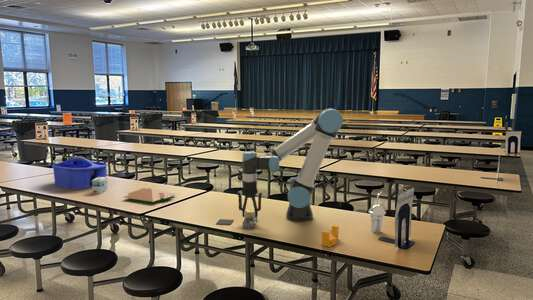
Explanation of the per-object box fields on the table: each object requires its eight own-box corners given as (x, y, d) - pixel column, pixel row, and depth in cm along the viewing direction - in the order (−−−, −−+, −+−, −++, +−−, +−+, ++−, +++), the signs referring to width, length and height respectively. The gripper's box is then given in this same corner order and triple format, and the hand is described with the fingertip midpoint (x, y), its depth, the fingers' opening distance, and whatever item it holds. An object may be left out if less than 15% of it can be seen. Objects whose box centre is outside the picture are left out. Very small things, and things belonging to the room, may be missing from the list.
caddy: (81, 179, 320) (79, 152, 317) (117, 184, 298) (115, 155, 295) (44, 186, 292) (42, 156, 289) (80, 193, 271) (78, 161, 268)
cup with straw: (364, 229, 193) (365, 191, 191) (378, 227, 197) (379, 190, 194) (375, 235, 185) (376, 195, 183) (389, 232, 189) (391, 193, 186)
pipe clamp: (330, 247, 170) (330, 233, 169) (321, 245, 173) (321, 231, 172) (341, 239, 180) (341, 226, 179) (333, 237, 182) (333, 224, 182)
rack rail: (257, 219, 210) (257, 212, 210) (252, 228, 194) (252, 221, 194) (248, 218, 211) (248, 212, 210) (242, 228, 195) (242, 221, 195)
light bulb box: (101, 194, 266) (100, 179, 264) (92, 194, 266) (91, 179, 264) (108, 191, 276) (107, 176, 275) (99, 191, 276) (98, 176, 275)
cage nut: (254, 221, 205) (254, 209, 204) (253, 225, 200) (253, 212, 199) (246, 221, 206) (246, 209, 205) (244, 224, 200) (244, 212, 199)
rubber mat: (233, 220, 208) (233, 219, 208) (230, 225, 200) (230, 224, 200) (219, 219, 209) (219, 219, 209) (215, 224, 201) (215, 223, 201)
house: (156, 207, 236) (156, 194, 235) (118, 201, 250) (117, 189, 249) (179, 198, 256) (179, 187, 255) (143, 193, 270) (142, 182, 269)
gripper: (266, 179, 202) (266, 221, 205) (235, 178, 205) (235, 220, 208) (264, 182, 195) (264, 225, 198) (232, 181, 197) (232, 224, 200)
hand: (250, 222), depth 203 cm, fingers closed on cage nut, 4 cm apart
